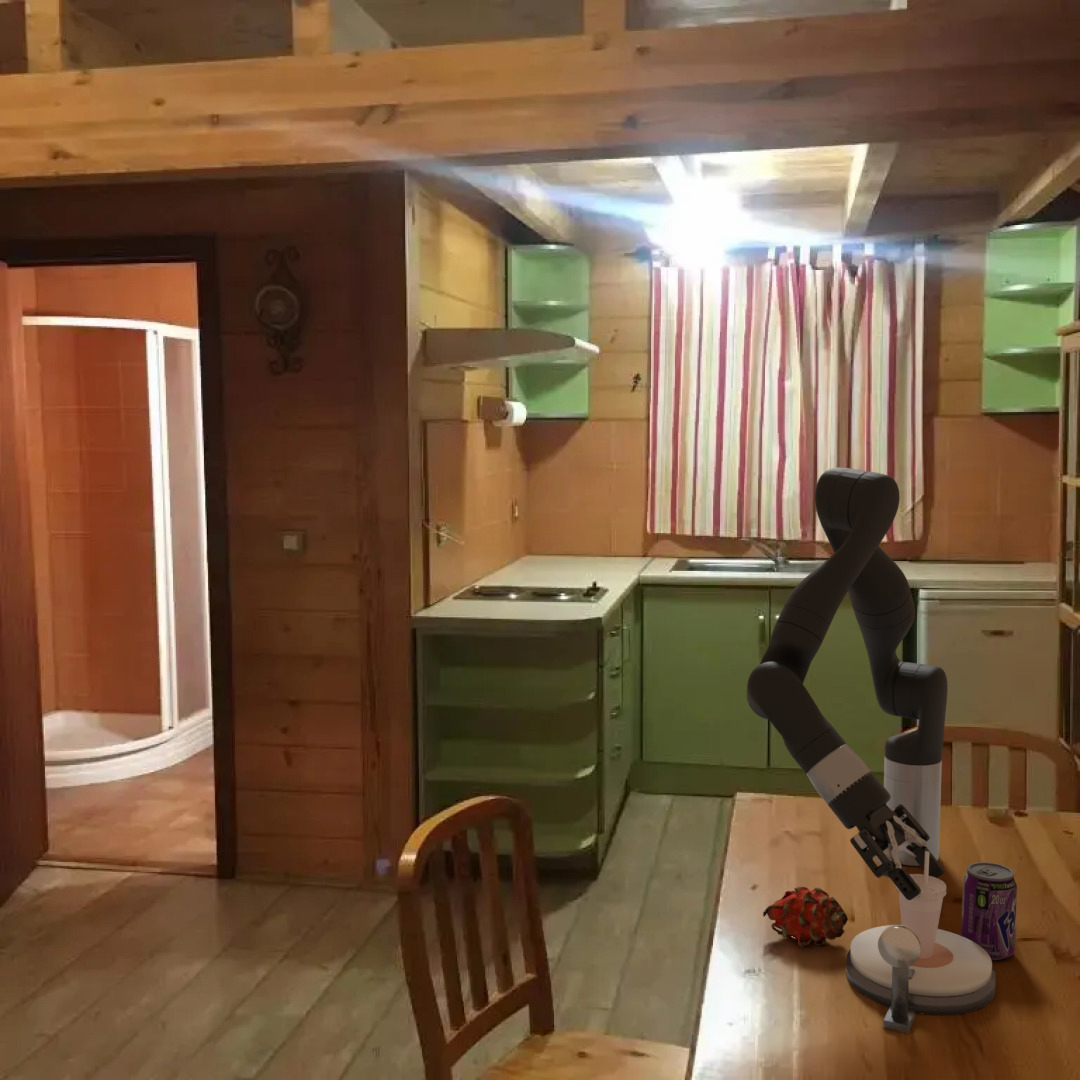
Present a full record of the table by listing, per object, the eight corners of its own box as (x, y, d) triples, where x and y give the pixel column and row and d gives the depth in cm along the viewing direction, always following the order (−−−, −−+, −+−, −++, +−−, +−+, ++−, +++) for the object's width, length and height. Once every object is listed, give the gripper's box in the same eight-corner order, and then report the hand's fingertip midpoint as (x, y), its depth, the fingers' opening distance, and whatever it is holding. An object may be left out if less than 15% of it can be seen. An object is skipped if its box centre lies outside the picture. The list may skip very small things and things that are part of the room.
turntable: (867, 925, 177) (867, 913, 177) (1000, 951, 168) (1000, 938, 168) (835, 977, 161) (835, 964, 161) (980, 1008, 153) (981, 994, 152)
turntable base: (864, 938, 178) (864, 925, 177) (1004, 965, 169) (1004, 951, 169) (830, 994, 161) (830, 980, 161) (983, 1028, 152) (984, 1012, 152)
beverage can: (988, 968, 168) (992, 883, 167) (949, 947, 174) (952, 866, 173) (1025, 957, 171) (1029, 874, 170) (985, 937, 178) (988, 857, 176)
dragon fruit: (853, 961, 174) (768, 960, 178) (854, 908, 180) (773, 908, 184) (842, 928, 169) (755, 927, 173) (844, 874, 175) (760, 875, 179)
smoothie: (946, 965, 161) (951, 862, 159) (895, 960, 162) (899, 858, 160) (940, 943, 167) (945, 844, 165) (891, 939, 168) (895, 840, 167)
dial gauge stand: (884, 1008, 157) (886, 910, 156) (924, 1017, 155) (927, 917, 153) (875, 1025, 153) (877, 925, 151) (916, 1035, 151) (919, 933, 149)
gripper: (844, 783, 161) (928, 888, 156) (887, 758, 172) (966, 855, 167) (806, 814, 165) (887, 918, 159) (850, 787, 176) (926, 884, 171)
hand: (927, 886), depth 163 cm, fingers open, 8 cm apart
